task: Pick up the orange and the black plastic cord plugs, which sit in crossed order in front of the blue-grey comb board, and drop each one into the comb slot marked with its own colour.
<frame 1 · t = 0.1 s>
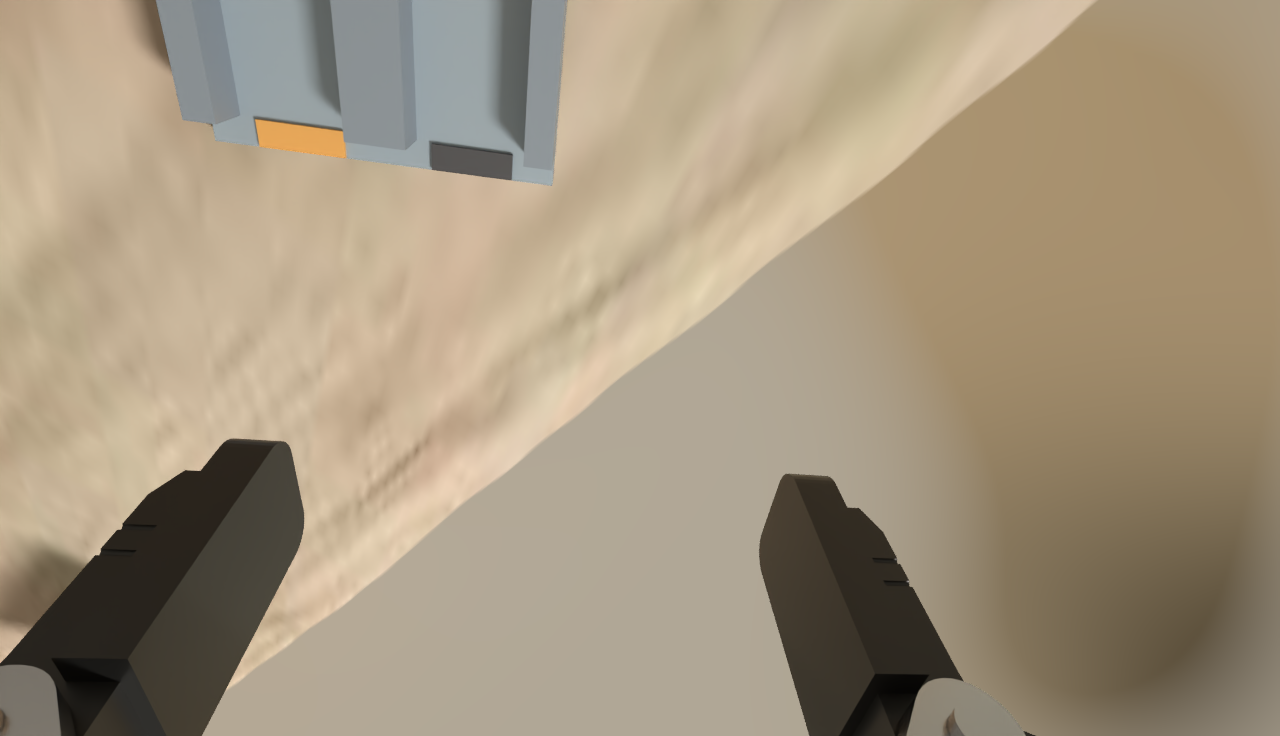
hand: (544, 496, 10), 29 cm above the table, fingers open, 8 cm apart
comb board: (387, 31, 31), on the table
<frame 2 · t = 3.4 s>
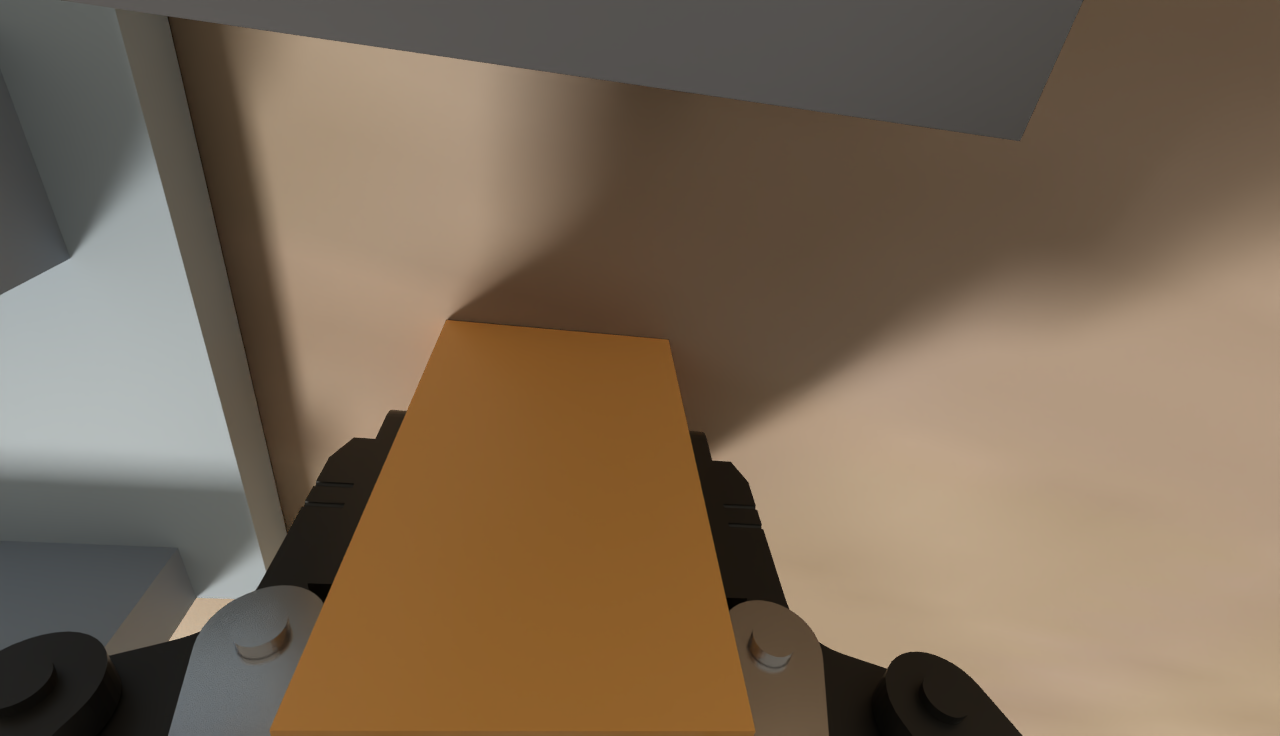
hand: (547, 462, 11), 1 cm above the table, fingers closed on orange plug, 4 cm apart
orange plug: (552, 418, 12), on the table, touching gripper
when the fingers open (4 cm above the table, at t = 9.0 s): orange plug drops 1 cm, resting on comb board.
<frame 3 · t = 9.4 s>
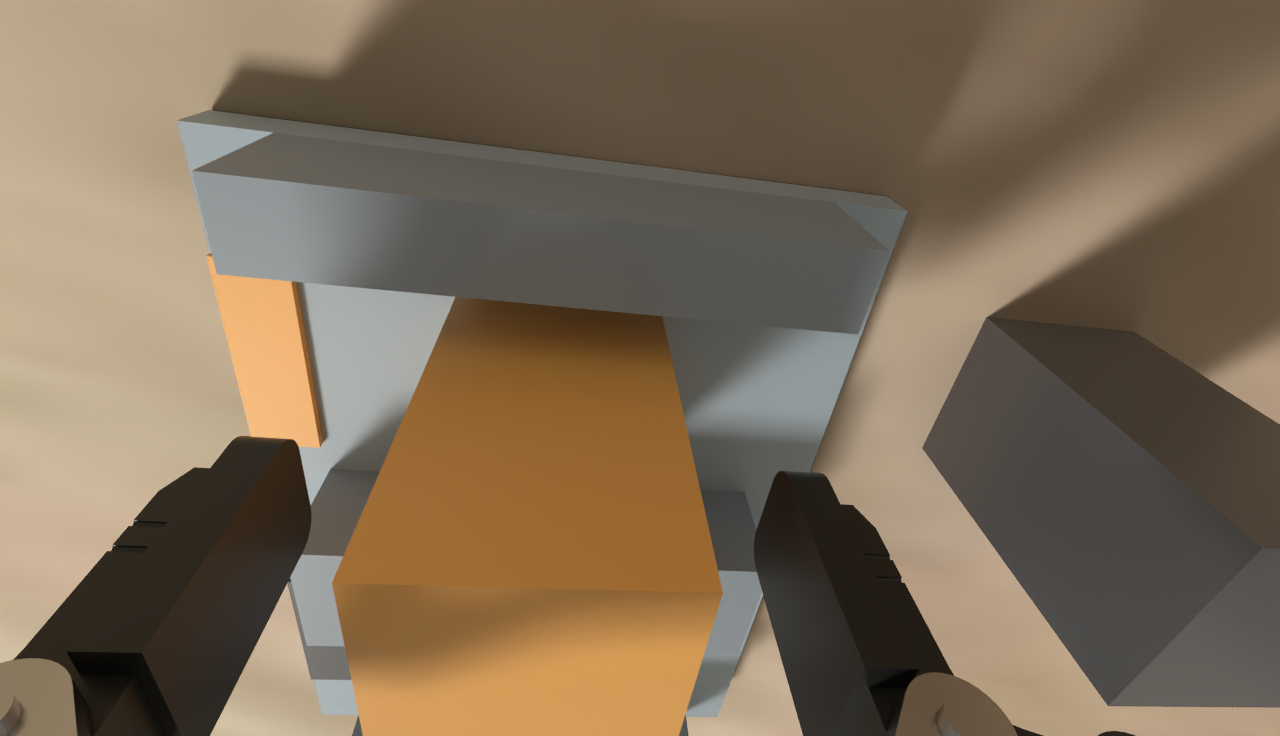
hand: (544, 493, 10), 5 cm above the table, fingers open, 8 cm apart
orange plug: (556, 379, 13), point 1 cm above the table, touching comb board
comb board: (545, 497, 16), on the table
black plug: (1023, 392, 16), on the table
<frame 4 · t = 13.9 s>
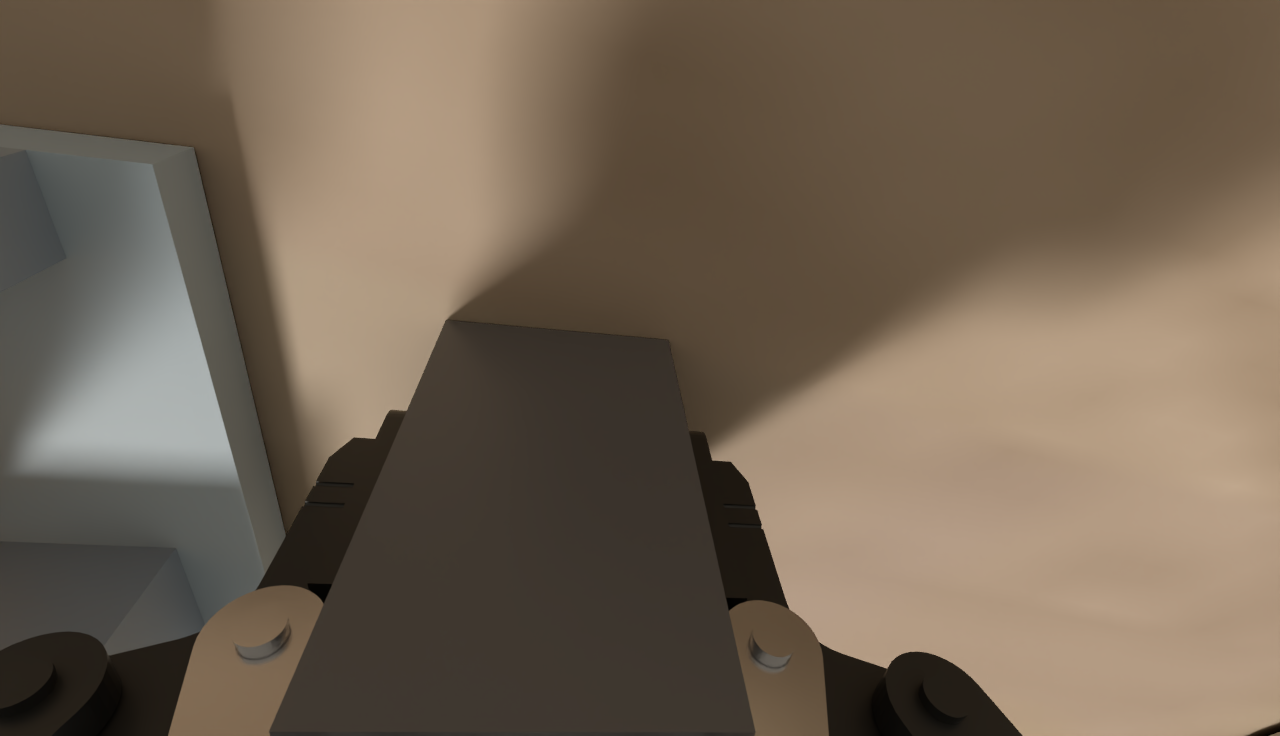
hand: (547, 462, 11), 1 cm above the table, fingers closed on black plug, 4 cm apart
black plug: (552, 418, 12), on the table, touching gripper
when the fingers open (4 cm above the table, at t = 19.4 s): black plug drops 1 cm, resting on comb board.
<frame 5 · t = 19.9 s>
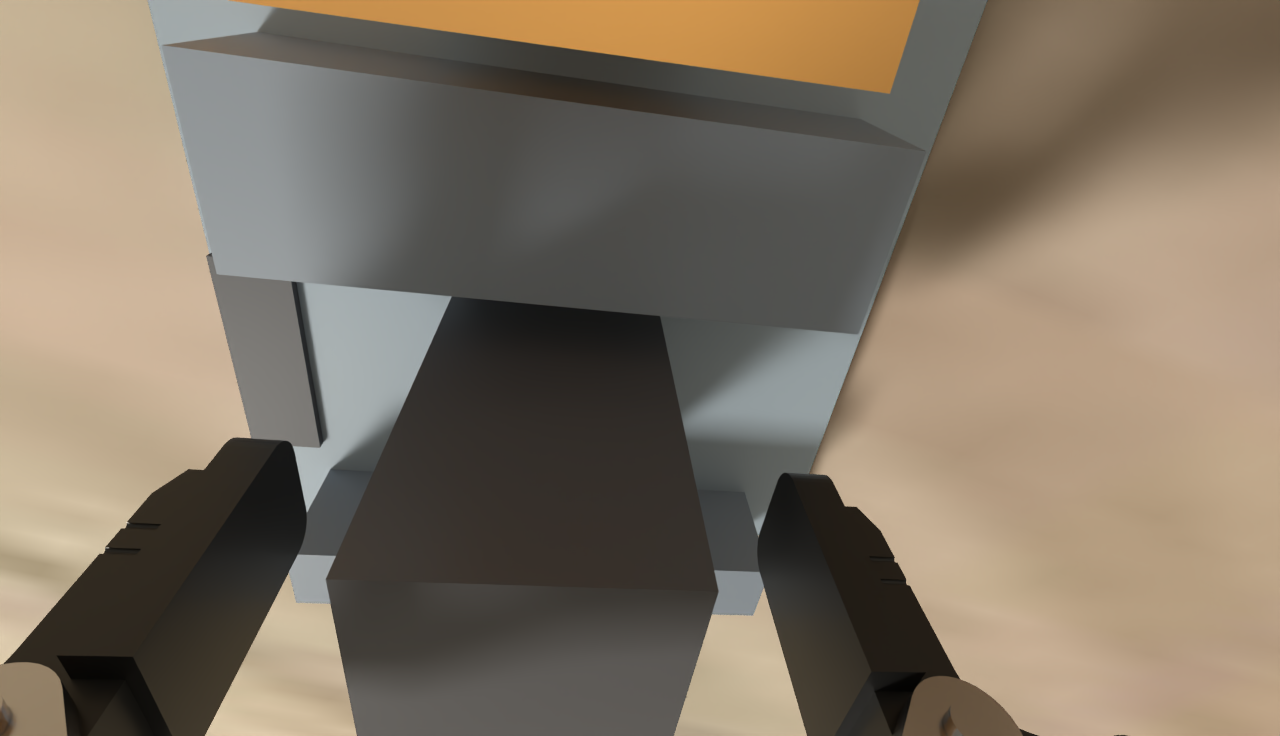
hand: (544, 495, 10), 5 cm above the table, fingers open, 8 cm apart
comb board: (572, 156, 12), on the table
black plug: (553, 377, 13), point 1 cm above the table, touching comb board
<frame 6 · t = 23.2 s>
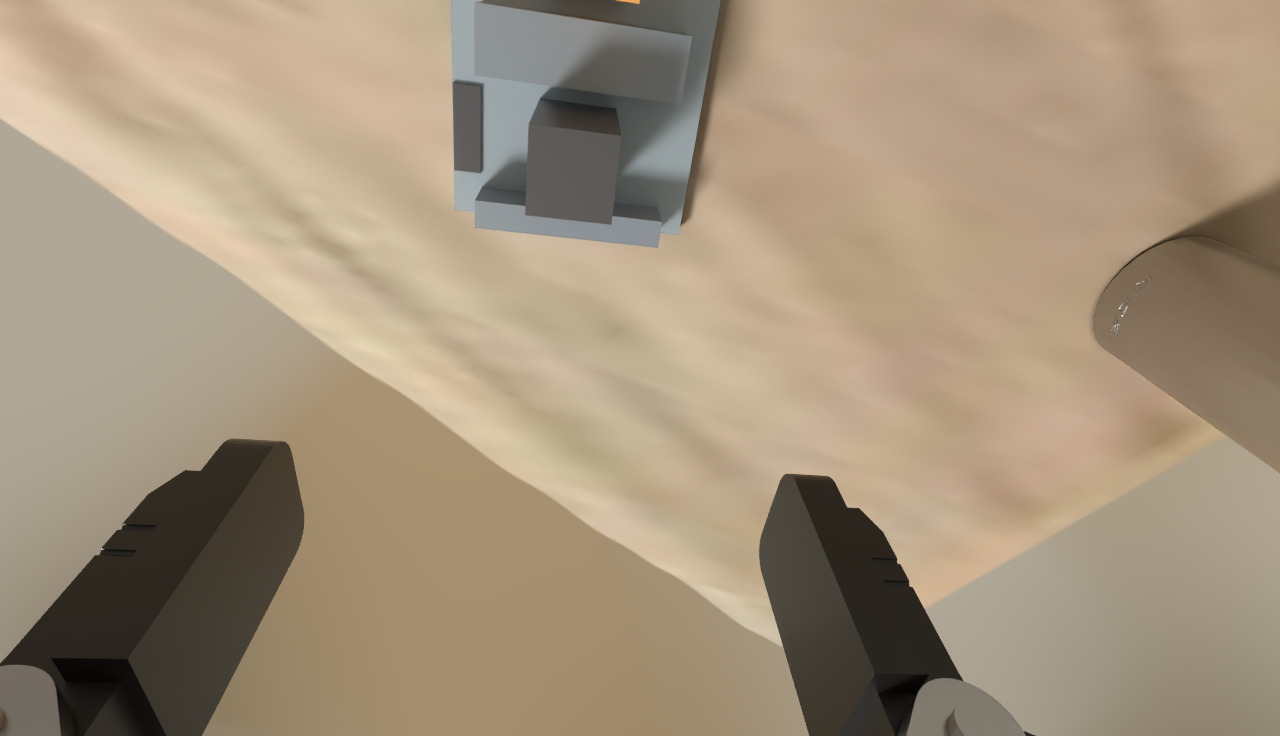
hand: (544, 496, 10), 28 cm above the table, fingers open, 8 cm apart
comb board: (583, 49, 32), on the table
black plug: (575, 142, 33), point 1 cm above the table, touching comb board
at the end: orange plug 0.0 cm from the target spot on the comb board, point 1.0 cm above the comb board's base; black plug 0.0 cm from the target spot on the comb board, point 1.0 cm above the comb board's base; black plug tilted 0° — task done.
